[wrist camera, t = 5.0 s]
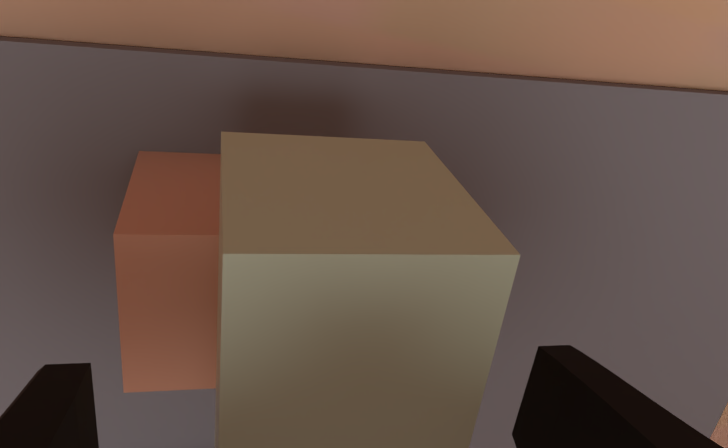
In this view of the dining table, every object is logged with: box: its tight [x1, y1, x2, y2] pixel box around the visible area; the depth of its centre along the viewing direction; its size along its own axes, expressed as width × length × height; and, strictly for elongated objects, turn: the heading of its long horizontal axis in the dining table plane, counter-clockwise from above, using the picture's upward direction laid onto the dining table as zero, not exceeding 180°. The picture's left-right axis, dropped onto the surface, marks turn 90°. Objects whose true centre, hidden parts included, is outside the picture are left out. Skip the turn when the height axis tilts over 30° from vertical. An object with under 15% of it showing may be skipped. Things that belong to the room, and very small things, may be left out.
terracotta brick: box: [113, 151, 221, 393], centre depth 14 cm, size 7×4×4 cm, turn 83°
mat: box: [0, 36, 728, 448], centre depth 19 cm, size 17×24×1 cm
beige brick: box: [215, 132, 520, 448], centre depth 10 cm, size 7×4×4 cm, turn 173°
